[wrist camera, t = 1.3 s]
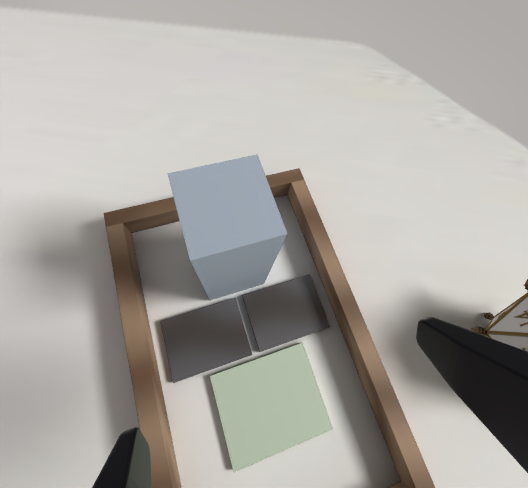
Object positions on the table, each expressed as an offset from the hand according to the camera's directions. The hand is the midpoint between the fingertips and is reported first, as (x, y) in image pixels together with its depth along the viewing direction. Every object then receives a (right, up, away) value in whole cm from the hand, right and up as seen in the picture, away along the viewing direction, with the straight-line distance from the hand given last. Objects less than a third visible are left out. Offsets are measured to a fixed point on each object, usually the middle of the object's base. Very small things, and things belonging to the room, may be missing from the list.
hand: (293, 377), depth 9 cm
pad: (0, -7, +12) cm, 14 cm away
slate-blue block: (-4, +2, +15) cm, 16 cm away
